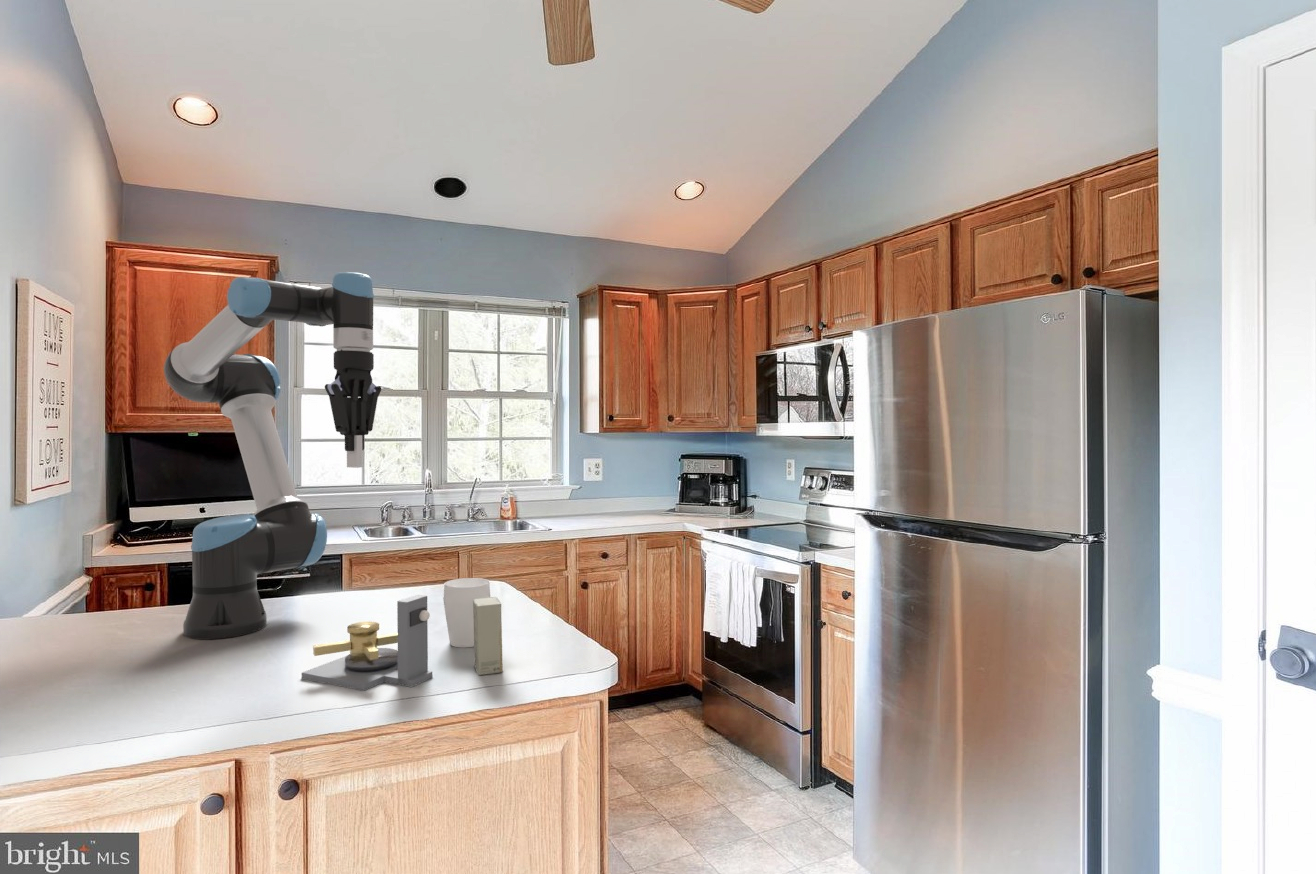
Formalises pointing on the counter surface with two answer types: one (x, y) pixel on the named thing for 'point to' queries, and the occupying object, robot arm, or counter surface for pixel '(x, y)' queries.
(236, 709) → the counter surface
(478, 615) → the skincare box
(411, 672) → the stand
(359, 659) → the capstan
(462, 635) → the cup
